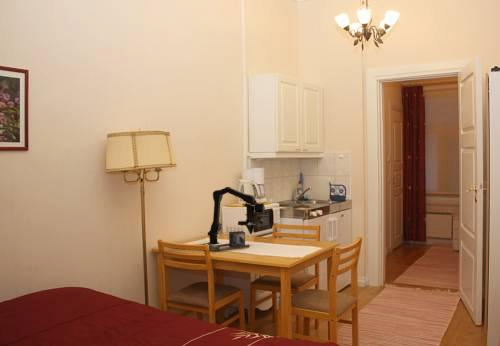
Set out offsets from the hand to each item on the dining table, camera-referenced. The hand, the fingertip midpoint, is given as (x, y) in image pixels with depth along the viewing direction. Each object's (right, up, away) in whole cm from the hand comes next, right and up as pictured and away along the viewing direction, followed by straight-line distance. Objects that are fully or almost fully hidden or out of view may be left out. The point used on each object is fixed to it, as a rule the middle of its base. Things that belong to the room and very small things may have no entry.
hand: (250, 234), depth 341 cm
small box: (-10, -8, -6) cm, 14 cm away
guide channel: (-16, -8, -11) cm, 21 cm away
